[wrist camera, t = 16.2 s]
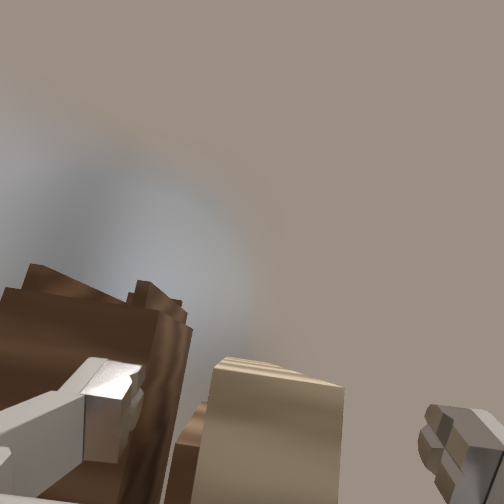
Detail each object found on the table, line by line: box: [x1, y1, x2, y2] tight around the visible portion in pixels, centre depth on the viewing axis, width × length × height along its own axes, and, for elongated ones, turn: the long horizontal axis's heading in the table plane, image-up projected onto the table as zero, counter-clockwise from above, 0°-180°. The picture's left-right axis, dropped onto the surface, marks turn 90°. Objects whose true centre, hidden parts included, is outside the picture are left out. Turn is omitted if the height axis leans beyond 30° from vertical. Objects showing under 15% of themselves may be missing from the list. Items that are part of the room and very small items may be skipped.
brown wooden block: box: [0, 264, 193, 504], centre depth 21 cm, size 15×8×28 cm, turn 3°
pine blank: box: [190, 357, 345, 504], centre depth 20 cm, size 22×4×4 cm, turn 3°
